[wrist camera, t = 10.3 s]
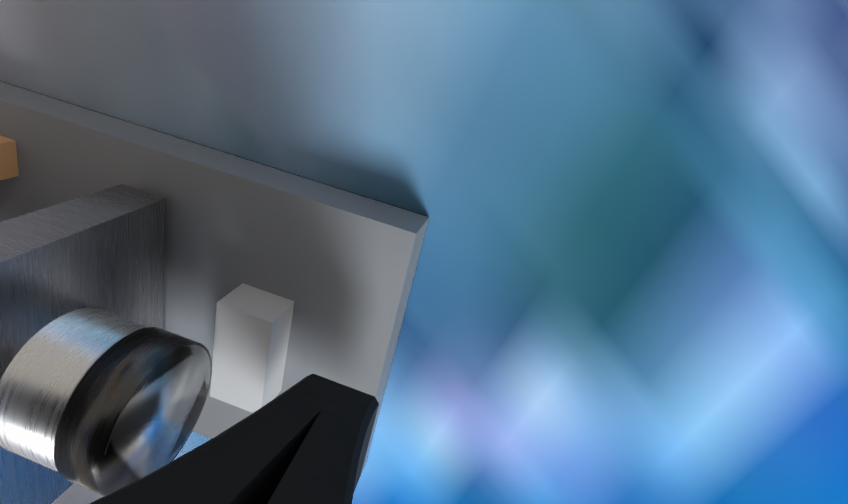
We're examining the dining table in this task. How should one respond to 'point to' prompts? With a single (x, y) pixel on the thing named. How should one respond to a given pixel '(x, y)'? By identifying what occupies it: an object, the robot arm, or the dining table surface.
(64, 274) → the shaft
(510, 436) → the dining table surface
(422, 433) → the dining table surface
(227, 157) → the rail
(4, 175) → the block
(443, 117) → the dining table surface
